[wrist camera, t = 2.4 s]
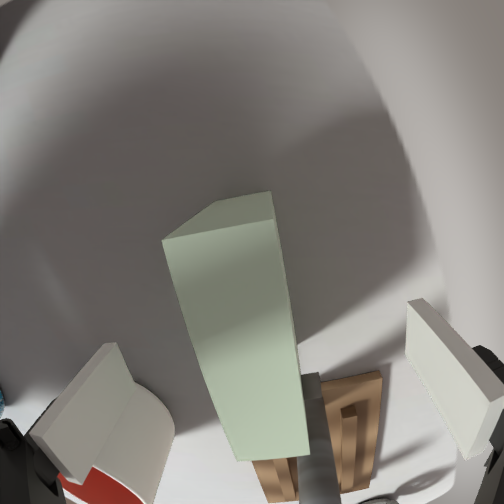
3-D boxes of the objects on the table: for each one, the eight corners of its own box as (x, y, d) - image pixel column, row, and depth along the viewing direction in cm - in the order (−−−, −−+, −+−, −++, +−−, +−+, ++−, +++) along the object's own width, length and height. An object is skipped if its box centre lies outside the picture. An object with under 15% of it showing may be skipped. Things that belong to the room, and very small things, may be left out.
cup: (152, 365, 23) (104, 457, 13) (193, 442, 25) (171, 525, 16) (66, 368, 24) (12, 434, 14) (111, 438, 27) (78, 505, 17)
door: (215, 201, 19) (161, 240, 9) (286, 187, 18) (305, 213, 9) (249, 351, 22) (237, 461, 12) (309, 342, 21) (330, 451, 12)
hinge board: (231, 392, 23) (211, 508, 12) (379, 368, 22) (425, 476, 11) (268, 497, 28) (266, 571, 18) (367, 482, 27) (382, 554, 16)
